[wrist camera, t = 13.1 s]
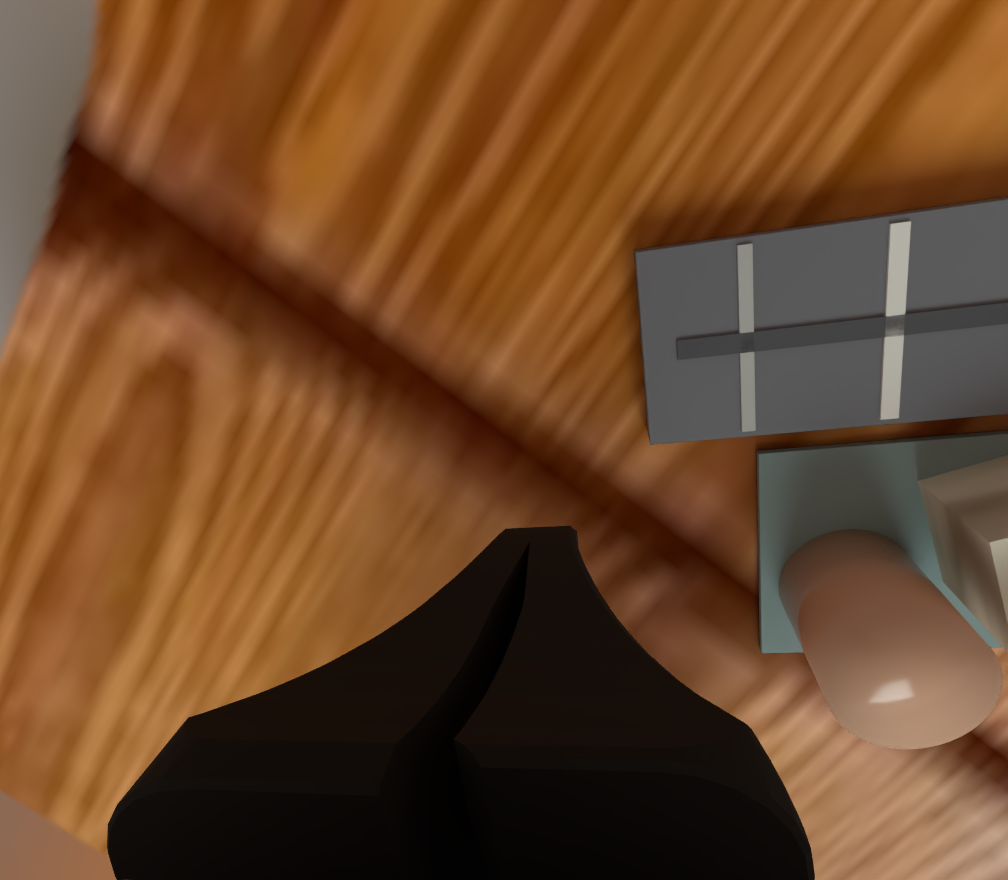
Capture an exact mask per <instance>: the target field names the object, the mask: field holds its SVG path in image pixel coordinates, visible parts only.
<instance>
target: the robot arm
mask: <svg viewBox="0 0 1008 880" xmlns="http://www.w3.org/2000/svg"><path fill="white" fill-rule="evenodd" d="M107 848H108V854H109V858H110V861H111V864H112V867H113V871H114V874H115V877H116V879H117V880H815V874H814V866H813V859H812V853H811V847H810V844H809V841H808V839H807V836H806V833H805V830H804V827H803V825H802V823H801V820H800V818H799V816H798V814H797V811H796V809H795V807H794V805H793V803H792V801H791V799H790V796H789V794H788V792H787V790H786V788H785V786H784V784H783V782H782V780H781V779H780V777H779V775H778V773H777V771H776V769H775V768H774V766H773V764H772V762H771V760H770V759H769V757H768V755H767V754H766V752H765V750H764V749H763V747H762V745H761V744H760V742H759V740H758V739H757V737H756V736H755V734H754V732H753V731H752V729H751V728H750V727H749V726H748V725H747V724H745V723H744V722H742V721H740V720H739V719H737V718H735V717H734V716H732V715H730V714H729V713H727V712H725V711H724V710H722V709H721V708H719V707H717V706H716V705H714V704H712V703H711V702H709V701H707V700H706V699H704V698H702V697H701V696H699V695H698V694H696V693H695V692H693V691H692V690H691V689H689V688H688V687H686V686H685V685H684V684H682V683H681V682H680V681H678V680H677V679H676V678H675V677H674V676H673V675H671V674H670V673H669V672H668V671H667V670H666V669H665V668H664V667H663V666H661V665H660V664H659V663H658V662H657V661H656V660H655V659H654V658H652V657H651V656H650V655H649V654H648V653H647V652H646V651H645V650H644V649H643V648H642V647H641V646H640V644H639V643H638V642H637V641H636V640H635V639H634V638H633V637H632V636H631V635H630V633H629V632H628V631H627V630H626V629H625V627H624V626H623V625H622V624H621V623H620V621H619V620H618V619H617V617H616V616H615V615H614V613H613V612H612V611H611V609H610V608H609V606H608V605H607V603H606V602H605V600H604V599H603V597H602V596H601V594H600V592H599V591H598V589H597V587H596V586H595V584H594V582H593V580H592V578H591V576H590V574H589V572H588V570H587V568H586V567H585V564H584V562H583V560H582V557H581V554H580V552H579V549H578V540H577V531H576V530H574V529H573V528H572V527H571V526H557V527H534V528H512V529H505V530H504V531H503V532H501V533H500V534H499V535H498V536H497V537H496V538H495V539H494V540H493V541H492V542H491V543H490V544H489V545H488V546H487V547H486V548H485V549H484V550H483V551H482V552H481V553H480V554H479V555H478V556H477V557H476V558H475V559H474V560H473V561H472V562H471V563H470V564H469V565H468V566H467V567H465V568H464V569H463V570H462V571H461V572H460V573H459V574H458V575H457V576H456V577H455V578H454V579H452V580H451V581H450V582H449V583H448V584H446V585H445V586H444V587H443V588H442V589H441V590H439V591H438V592H437V593H436V594H435V595H433V596H432V597H431V598H430V599H429V600H427V601H426V602H425V603H424V604H423V605H421V606H420V607H419V608H417V609H416V610H415V611H413V612H412V613H411V614H409V615H408V616H406V617H405V618H404V619H402V620H401V621H399V622H398V623H396V624H395V625H393V626H392V627H390V628H389V629H387V630H386V631H384V632H383V633H381V634H379V635H378V636H376V637H374V638H373V639H371V640H369V641H367V642H366V643H364V644H362V645H360V646H358V647H357V648H355V649H353V650H351V651H349V652H348V653H346V654H344V655H342V656H340V657H339V658H337V659H335V660H333V661H331V662H329V663H327V664H325V665H323V666H321V667H319V668H317V669H315V670H313V671H310V672H308V673H306V674H304V675H302V676H300V677H297V678H295V679H293V680H290V681H288V682H286V683H283V684H281V685H279V686H276V687H274V688H271V689H269V690H266V691H264V692H261V693H259V694H256V695H253V696H250V697H248V698H245V699H242V700H239V701H236V702H233V703H230V704H228V705H225V706H222V707H219V708H216V709H213V710H211V711H208V712H205V713H202V714H199V715H195V716H192V717H189V718H188V719H187V720H186V721H185V722H184V724H183V725H182V726H181V727H180V728H179V730H178V731H177V732H176V733H175V734H174V736H173V737H172V738H171V739H170V741H169V742H168V743H167V744H166V746H165V747H164V748H163V749H162V750H161V752H160V753H159V754H158V755H157V757H156V758H155V759H154V760H153V761H152V763H151V764H150V765H149V766H148V768H147V769H146V770H145V771H144V773H143V774H142V775H141V776H140V777H139V779H138V780H137V781H136V782H135V784H134V785H133V786H132V787H131V788H130V790H129V791H128V792H127V793H126V795H125V796H124V797H123V798H122V800H121V801H120V802H119V803H118V804H117V806H116V808H115V810H114V813H113V815H112V817H111V819H110V821H109V823H108V838H107Z"/></svg>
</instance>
